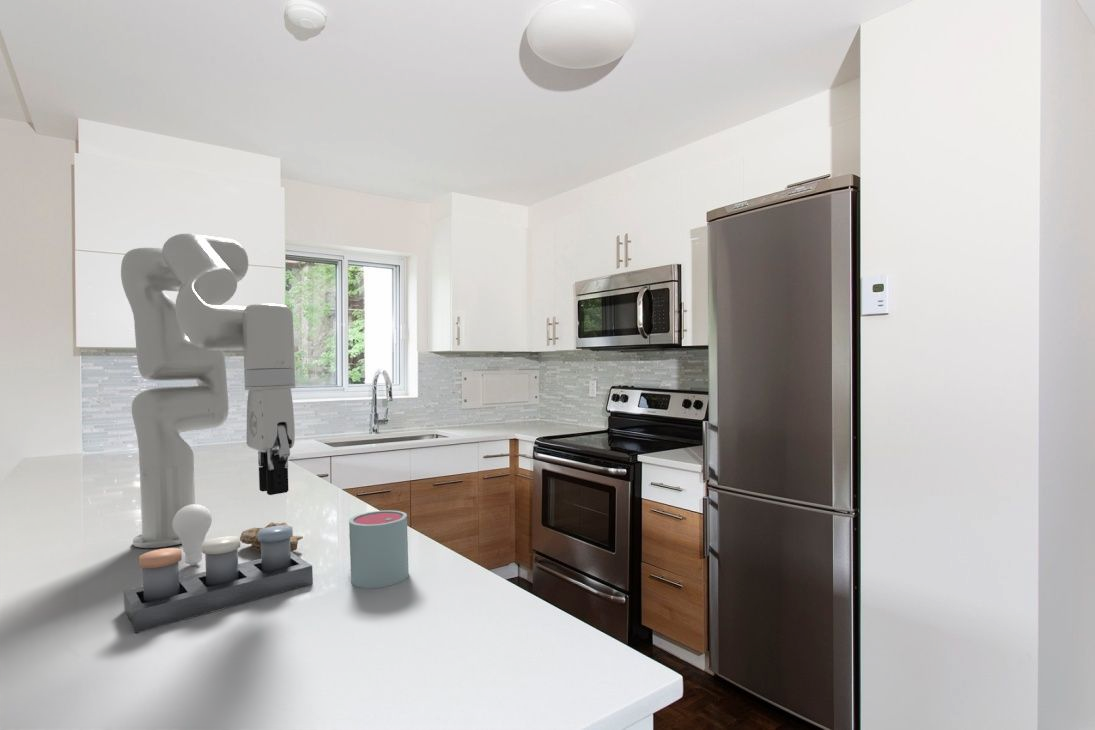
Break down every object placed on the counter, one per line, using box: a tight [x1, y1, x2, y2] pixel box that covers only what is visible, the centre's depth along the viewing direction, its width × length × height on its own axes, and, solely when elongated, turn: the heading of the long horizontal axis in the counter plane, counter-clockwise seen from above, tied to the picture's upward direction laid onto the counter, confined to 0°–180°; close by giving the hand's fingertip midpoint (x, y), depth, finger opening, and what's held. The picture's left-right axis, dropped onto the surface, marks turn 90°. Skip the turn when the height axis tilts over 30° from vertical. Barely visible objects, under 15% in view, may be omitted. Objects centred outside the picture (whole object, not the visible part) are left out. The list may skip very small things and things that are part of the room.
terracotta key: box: [138, 547, 183, 602], centre depth 86 cm, size 5×5×6 cm
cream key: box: [202, 535, 241, 586], centre depth 92 cm, size 5×5×6 cm
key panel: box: [123, 551, 314, 634], centre depth 92 cm, size 10×24×3 cm, turn 132°
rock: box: [239, 522, 304, 553], centre depth 115 cm, size 17×5×10 cm
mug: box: [348, 509, 409, 589], centre depth 100 cm, size 14×9×10 cm
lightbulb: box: [172, 503, 213, 567], centre depth 107 cm, size 6×6×11 cm
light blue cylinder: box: [258, 525, 294, 572], centre depth 97 cm, size 5×5×6 cm
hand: (273, 490), depth 97 cm, fingers open, 3 cm apart
